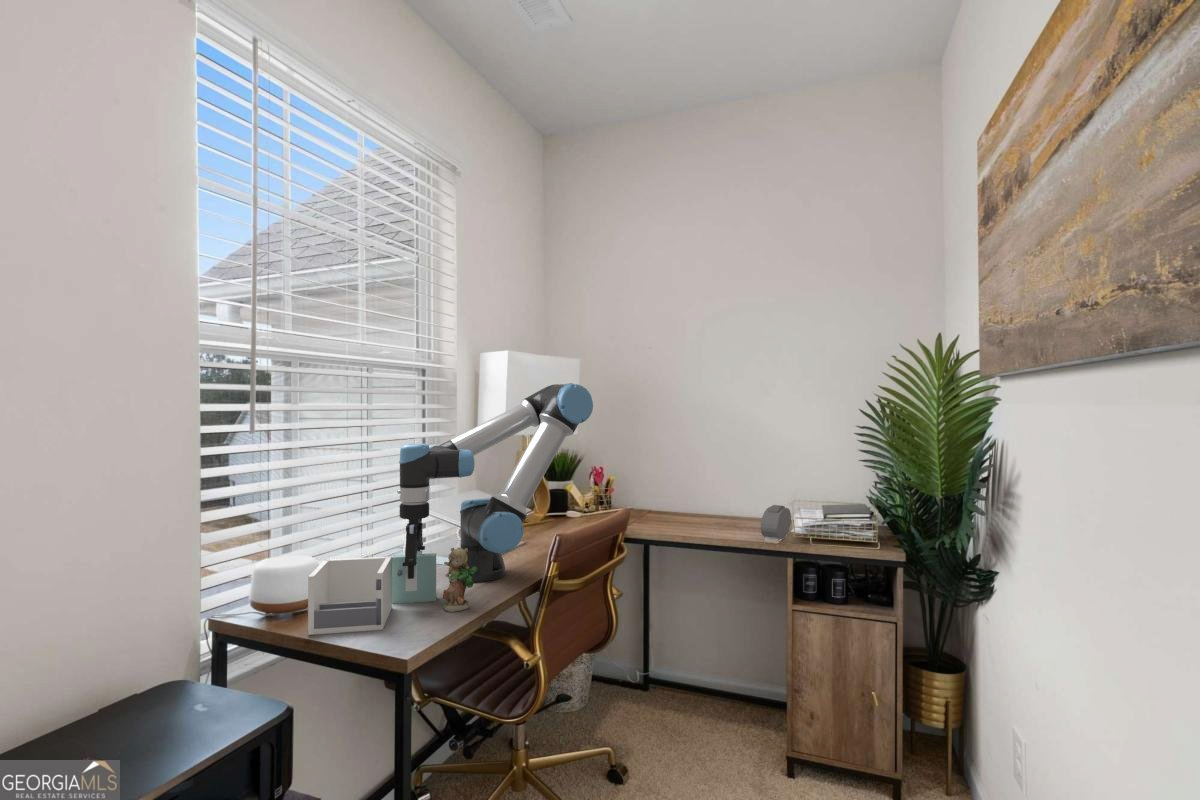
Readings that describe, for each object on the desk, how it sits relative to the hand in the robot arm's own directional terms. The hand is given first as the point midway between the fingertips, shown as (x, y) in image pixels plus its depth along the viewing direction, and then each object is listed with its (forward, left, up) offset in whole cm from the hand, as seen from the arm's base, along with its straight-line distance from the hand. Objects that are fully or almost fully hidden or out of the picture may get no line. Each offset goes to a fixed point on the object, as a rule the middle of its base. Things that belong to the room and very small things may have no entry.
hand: (414, 582), depth 158 cm
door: (0, 0, -5) cm, 5 cm away
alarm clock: (-128, -46, -5) cm, 136 cm away
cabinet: (+13, +12, -5) cm, 18 cm away
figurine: (-12, +8, -5) cm, 15 cm away
